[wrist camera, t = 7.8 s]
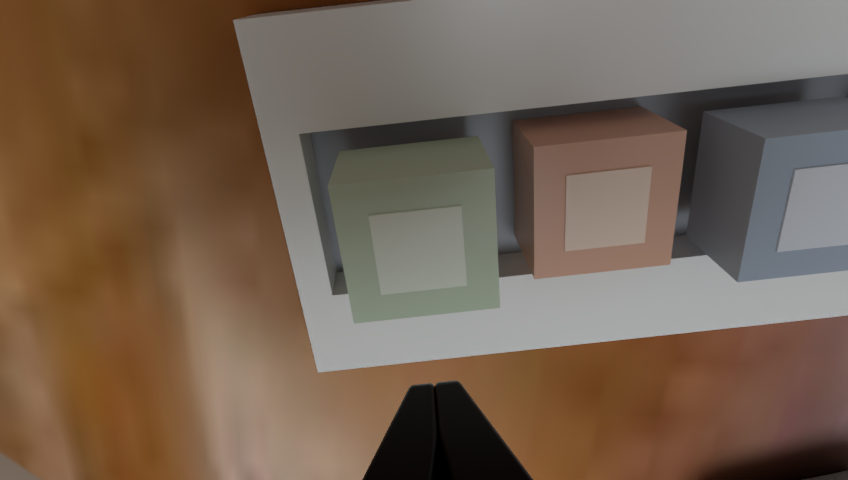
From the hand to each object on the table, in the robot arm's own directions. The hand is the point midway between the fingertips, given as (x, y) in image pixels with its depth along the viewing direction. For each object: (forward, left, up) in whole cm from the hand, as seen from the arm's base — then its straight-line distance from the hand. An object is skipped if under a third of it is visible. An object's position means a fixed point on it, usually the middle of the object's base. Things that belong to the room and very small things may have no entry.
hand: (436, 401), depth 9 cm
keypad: (-5, +6, -11) cm, 14 cm away
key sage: (0, 0, -9) cm, 9 cm away
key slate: (-7, +8, -9) cm, 14 cm away
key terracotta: (-3, +4, -10) cm, 11 cm away
